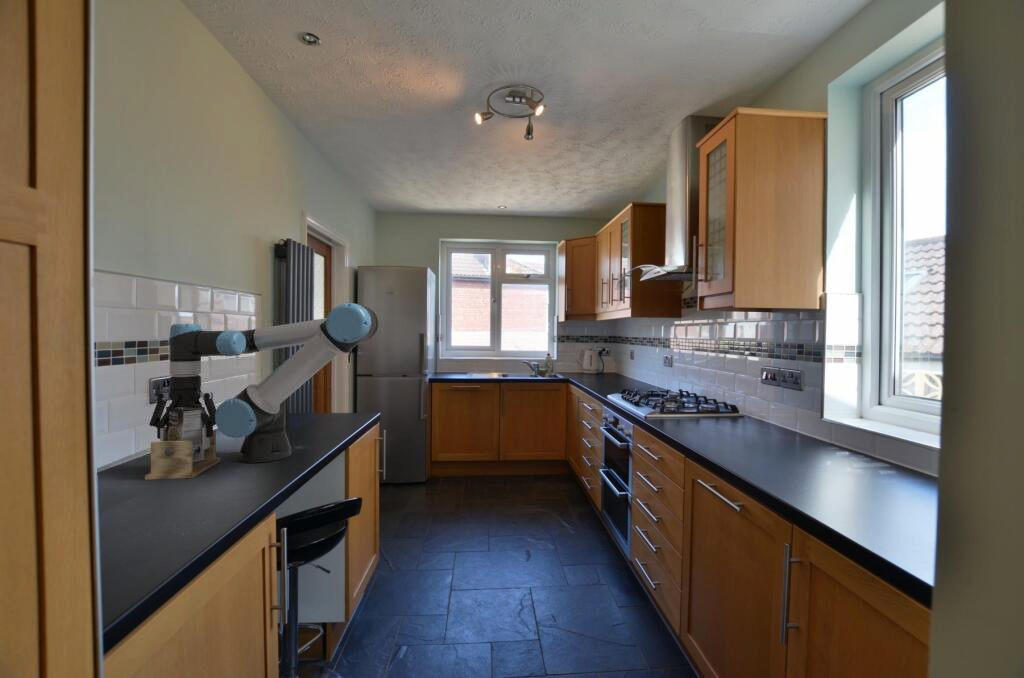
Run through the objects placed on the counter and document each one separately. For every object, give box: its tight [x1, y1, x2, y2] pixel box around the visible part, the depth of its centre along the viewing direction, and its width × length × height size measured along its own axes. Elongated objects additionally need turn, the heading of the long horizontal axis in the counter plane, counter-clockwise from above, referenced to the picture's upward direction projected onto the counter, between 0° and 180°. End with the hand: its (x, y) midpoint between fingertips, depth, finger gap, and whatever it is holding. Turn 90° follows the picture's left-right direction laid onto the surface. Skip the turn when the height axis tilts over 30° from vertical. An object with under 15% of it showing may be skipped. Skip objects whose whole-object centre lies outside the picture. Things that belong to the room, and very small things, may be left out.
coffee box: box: [165, 406, 206, 462], centre depth 130 cm, size 9×6×16 cm
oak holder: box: [144, 429, 221, 480], centre depth 130 cm, size 12×16×10 cm
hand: (185, 448), depth 130 cm, fingers closed on coffee box, 10 cm apart
